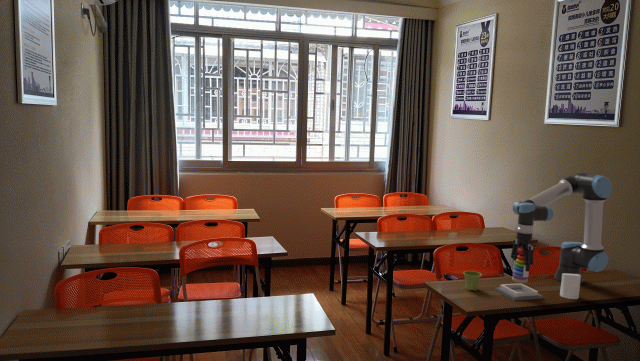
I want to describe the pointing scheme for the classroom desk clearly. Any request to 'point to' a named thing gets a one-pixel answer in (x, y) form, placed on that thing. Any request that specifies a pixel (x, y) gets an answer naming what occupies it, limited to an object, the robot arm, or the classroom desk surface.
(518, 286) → the board
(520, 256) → the stacking toy
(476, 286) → the plant pot
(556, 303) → the classroom desk surface
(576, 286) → the cylinder with rectangular tab
